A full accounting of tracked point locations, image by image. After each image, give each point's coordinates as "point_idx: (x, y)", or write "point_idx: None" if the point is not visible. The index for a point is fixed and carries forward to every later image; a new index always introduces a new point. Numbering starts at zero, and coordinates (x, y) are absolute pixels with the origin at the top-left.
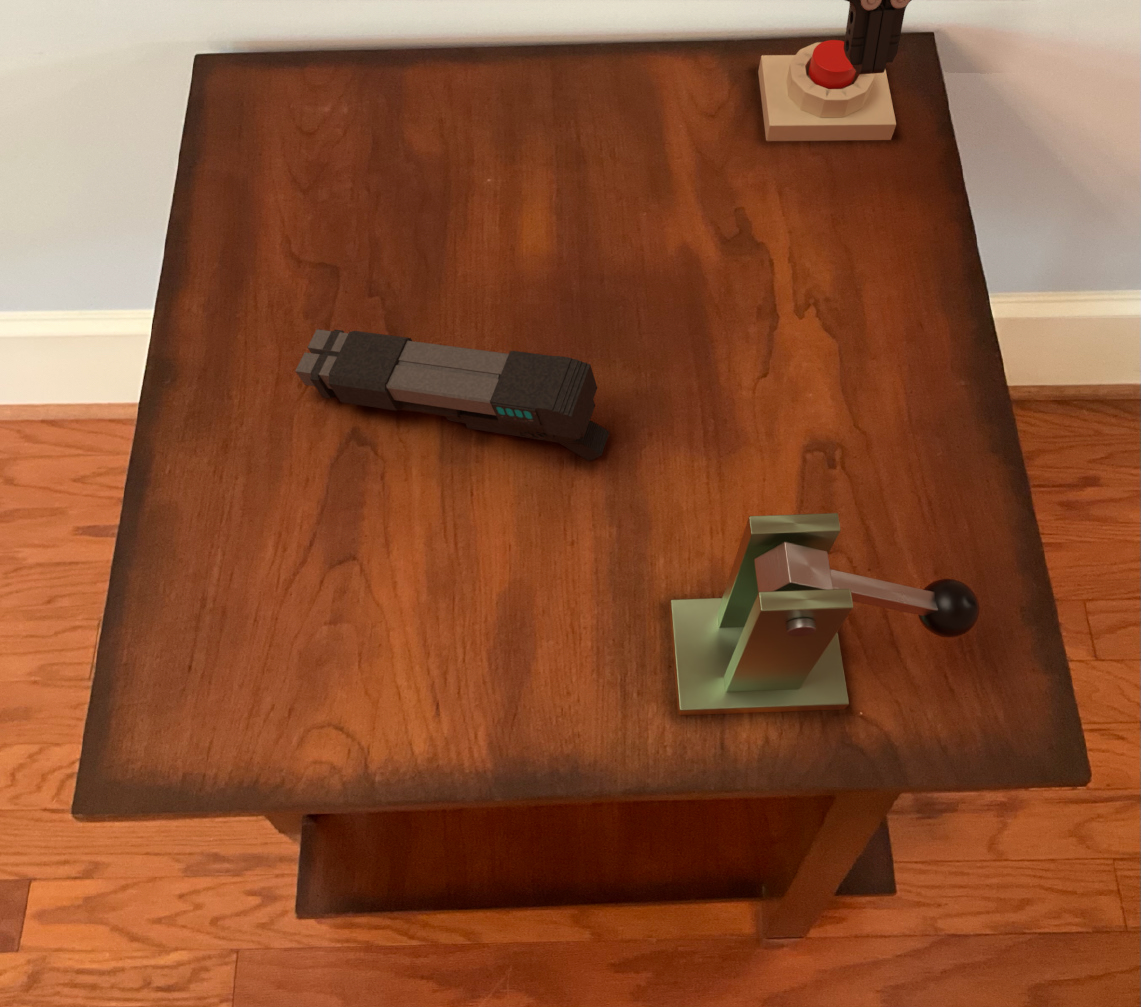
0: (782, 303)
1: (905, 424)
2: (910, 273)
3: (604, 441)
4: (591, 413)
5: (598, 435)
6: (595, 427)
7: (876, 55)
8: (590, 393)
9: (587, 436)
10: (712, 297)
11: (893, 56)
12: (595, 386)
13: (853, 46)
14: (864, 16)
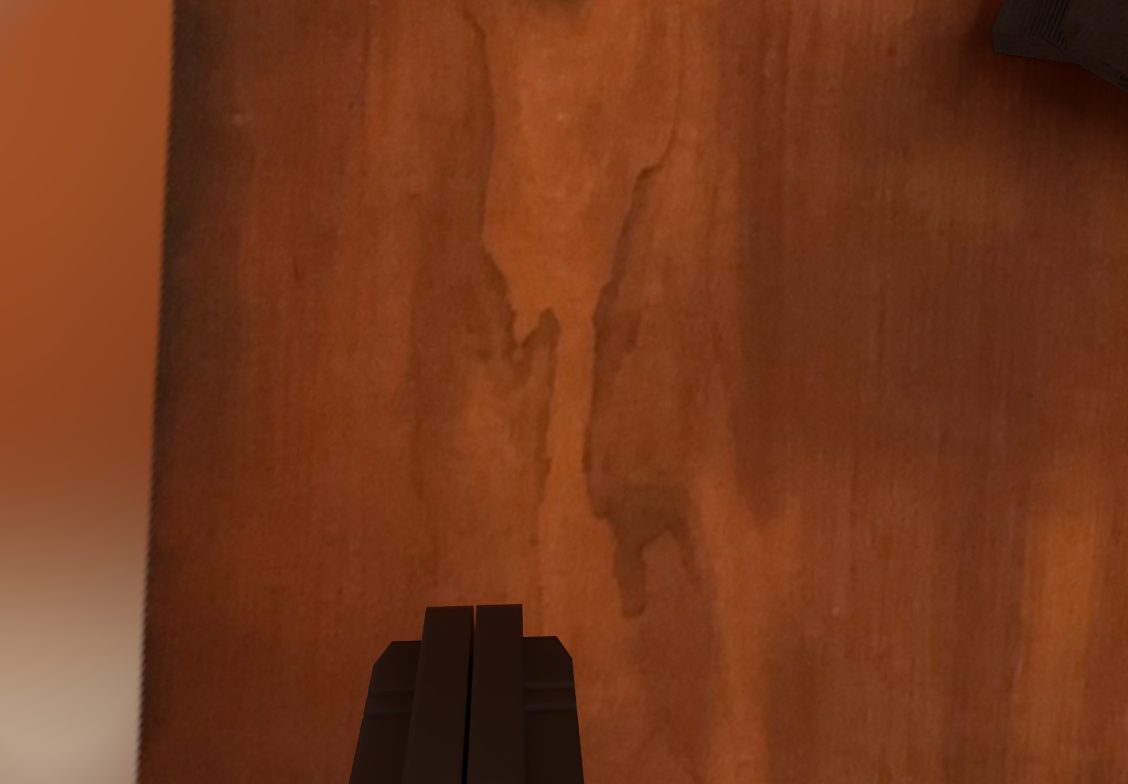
0: (580, 353)
1: (378, 28)
2: (291, 412)
3: (1004, 8)
4: (1074, 4)
5: (1021, 14)
6: (1030, 26)
7: (468, 644)
8: (1110, 2)
9: (1051, 1)
10: (723, 379)
11: (388, 656)
12: (1087, 34)
13: (563, 688)
14: (541, 782)
